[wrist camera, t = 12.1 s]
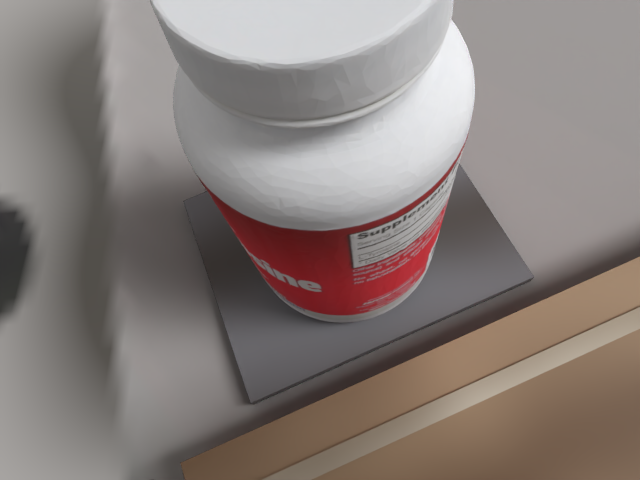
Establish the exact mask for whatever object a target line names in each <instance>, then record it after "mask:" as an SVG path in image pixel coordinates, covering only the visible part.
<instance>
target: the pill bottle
mask: <svg viewBox="0 0 640 480" xmlns="http://www.w3.org/2000/svg"><path fill="white" fill-rule="evenodd" d="M150 2H151V5H152V8H153V10H154V12H155V14H156V16H157V18H158V21H159V23H160V25H161V27H162V30H163V32H164V34H165V37H166V39H167V41H168V43H169V46H170V48H171V50H172V52H173V54H174V56H175V58H176V60H177V62H178V63H179V67H178V70H177V74H176V79H175V84H174V92H173V110H174V119H175V124H176V129H177V132H178V136H179V139H180V142H181V144H182V147H183V149H184V152H185V154H186V156H187V158H188V160H189V162H190V164H191V166H192V167H193V169H194V171H195V173H196V174H197V176H198V178H199V179H200V181H201V183H202V184H203V185H204V187H205V188H206V190H207V191H208V193H209V194H210V196H211V198H212V199H213V201H214V202H215V204H216V205H217V207H218V208H219V210H220V211H221V213H222V215H223V216H224V218H225V219H226V221H227V222H228V224H229V225H230V227H231V229H232V230H233V232H234V233H235V235H236V236H237V238H238V239H239V241H240V242H241V244H242V246H243V247H244V249H245V250H246V252H247V253H248V255H249V256H250V258H251V260H252V261H253V263H254V264H255V266H256V267H257V269H258V270H259V272H260V273H261V275H262V277H263V278H264V279H265V281H266V282H267V284H268V285H269V286H270V288H271V289H272V290H273V291H274V292H275V293H276V294H277V296H278V297H279V298H281V299H282V300H283V301H284V302H285V303H286V304H288V305H289V306H290V307H292V308H293V309H295V310H297V311H298V312H300V313H302V314H304V315H307V316H309V317H312V318H315V319H318V320H323V321H327V322H339V323H345V322H357V321H362V320H367V319H371V318H374V317H376V316H379V315H381V314H383V313H385V312H387V311H389V310H391V309H393V308H394V307H396V306H397V305H399V304H400V303H401V302H402V301H404V300H405V299H406V298H407V297H408V296H409V295H410V294H411V293H412V292H413V291H414V290H415V289H416V287H417V286H418V285H419V283H420V282H421V280H422V279H423V277H424V275H425V273H426V271H427V269H428V267H429V264H430V261H431V259H432V256H433V252H434V248H435V245H436V242H437V239H438V235H439V232H440V227H441V224H442V221H443V217H444V214H445V210H446V207H447V203H448V200H449V196H450V193H451V189H452V186H453V182H454V179H455V175H456V172H457V168H458V165H459V162H460V159H461V155H462V151H463V148H464V145H465V142H466V139H467V137H468V132H469V127H470V123H471V117H472V112H473V107H474V99H475V82H474V71H473V65H472V62H471V58H470V55H469V51H468V48H467V46H466V44H465V41H464V39H463V37H462V35H461V34H460V32H459V30H458V28H457V27H456V25H455V24H454V22H453V21H452V20H451V17H452V11H453V0H150Z"/></svg>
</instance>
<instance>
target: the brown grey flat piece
mask: <svg viewBox="0 0 640 480" xmlns="http://www.w3.org/2000/svg"><path fill="white" fill-rule="evenodd" d="M183 202H184V205H185V208H186V211H187V214H188V217H189V220H190V223H191V226H192V229H193V232H194V235H195V238H196V241H197V244H198V247H199V250H200V253H201V256H202V259H203V262H204V265H205V268H206V271H207V274H208V277H209V280H210V283H211V286H212V289H213V292H214V295H215V298H216V301H217V304H218V307H219V310H220V313H221V316H222V319H223V322H224V325H225V328H226V331H227V334H228V337H229V340H230V343H231V346H232V349H233V352H234V355H235V358H236V361H237V364H238V367H239V370H240V373H241V376H242V379H243V382H244V385H245V388H246V391H247V394H248V397H249V400H250V403H252V404H256V403H258V402H260V401H262V400H265V399H267V398H269V397H271V396H274V395H276V394H278V393H280V392H282V391H285V390H287V389H289V388H291V387H294V386H296V385H298V384H300V383H303V382H305V381H307V380H309V379H312V378H314V377H316V376H318V375H321V374H323V373H325V372H327V371H330V370H332V369H334V368H336V367H339V366H341V365H343V364H345V363H348V362H350V361H352V360H354V359H357V358H359V357H361V356H363V355H366V354H368V353H370V352H372V351H375V350H377V349H379V348H381V347H384V346H386V345H388V344H390V343H393V342H395V341H397V340H399V339H401V338H404V337H406V336H408V335H410V334H413V333H415V332H417V331H419V330H422V329H424V328H426V327H428V326H431V325H433V324H435V323H437V322H440V321H442V320H444V319H446V318H449V317H451V316H453V315H455V314H458V313H460V312H462V311H464V310H467V309H469V308H471V307H473V306H476V305H478V304H480V303H482V302H485V301H487V300H489V299H491V298H494V297H496V296H498V295H500V294H503V293H505V292H507V291H509V290H511V289H514V288H516V287H518V286H520V285H523V284H525V283H527V282H529V281H531V280H532V279H533V278H534V276H533V275H532V273H531V272H530V270H529V269H528V267H527V266H526V264H525V263H524V261H523V260H522V258H521V257H520V255H519V253H518V252H517V250H516V249H515V247H514V246H513V244H512V243H511V241H510V240H509V238H508V237H507V235H506V234H505V232H504V231H503V229H502V228H501V226H500V225H499V223H498V222H497V220H496V218H495V217H494V215H493V214H492V212H491V211H490V209H489V208H488V206H487V205H486V203H485V202H484V200H483V199H482V197H481V196H480V194H479V193H478V191H477V190H476V188H475V187H474V185H473V184H472V182H471V180H470V179H469V177H468V176H467V174H466V173H465V171H464V170H463V168H462V167H461V165H460V164H459V165H458V168H457V172H456V175H455V179H454V182H453V186H452V189H451V193H450V196H449V200H448V203H447V207H446V210H445V214H444V217H443V221H442V224H441V227H440V232H439V235H438V239H437V242H436V245H435V248H434V252H433V256H432V259H431V261H430V264H429V267H428V269H427V271H426V273H425V275H424V277H423V279H422V280H421V282H420V283H419V285H418V286H417V287H416V289H415V290H414V291H413V292H412V293H411V294H410V295H409V296H408V297H407V298H406V299H405V300H404V301H402V302H401V303H400V304H399V305H397V306H396V307H394V308H393V309H391V310H389V311H387V312H385V313H383V314H381V315H379V316H376V317H374V318H371V319H367V320H362V321H357V322H345V323H339V322H327V321H323V320H318V319H315V318H312V317H309V316H307V315H304V314H302V313H300V312H298V311H297V310H295V309H293V308H292V307H290V306H289V305H288V304H286V303H285V302H284V301H283V300H282V299H281V298H279V297H278V296H277V294H276V293H275V292H274V291H273V290H272V289H271V288H270V286H269V285H268V284H267V282H266V281H265V279H264V278H263V277H262V275H261V273H260V272H259V270H258V269H257V267H256V266H255V264H254V263H253V261H252V260H251V258H250V256H249V255H248V253H247V252H246V250H245V249H244V247H243V246H242V244H241V242H240V241H239V239H238V238H237V236H236V235H235V233H234V232H233V230H232V229H231V227H230V225H229V224H228V222H227V221H226V219H225V218H224V216H223V215H222V213H221V211H220V210H219V208H218V207H217V205H216V204H215V202H214V201H213V199H212V198H211V196H210V194H209V193H208V191H207V192H204V193H202V194H199V195H197V196H195V197H192V198H190V199H187V200H185V201H183ZM181 467H182V471H183V475H184V479H185V480H640V257H638V258H635V259H633V260H631V261H629V262H627V263H624V264H622V265H620V266H618V267H615V268H613V269H611V270H609V271H607V272H604V273H602V274H600V275H598V276H595V277H593V278H591V279H589V280H586V281H584V282H582V283H580V284H578V285H575V286H573V287H571V288H569V289H566V290H564V291H562V292H560V293H558V294H555V295H553V296H551V297H549V298H546V299H544V300H542V301H540V302H537V303H535V304H533V305H531V306H529V307H526V308H524V309H522V310H520V311H517V312H515V313H513V314H511V315H509V316H506V317H504V318H502V319H500V320H497V321H495V322H493V323H491V324H488V325H486V326H484V327H482V328H480V329H477V330H475V331H473V332H471V333H468V334H466V335H464V336H462V337H460V338H457V339H455V340H453V341H451V342H448V343H446V344H444V345H442V346H440V347H437V348H435V349H433V350H431V351H428V352H426V353H424V354H422V355H419V356H417V357H415V358H413V359H411V360H408V361H406V362H404V363H402V364H399V365H397V366H395V367H393V368H391V369H388V370H386V371H384V372H382V373H379V374H377V375H375V376H373V377H370V378H368V379H366V380H364V381H362V382H359V383H357V384H355V385H353V386H350V387H348V388H346V389H344V390H342V391H339V392H337V393H335V394H333V395H330V396H328V397H326V398H324V399H321V400H319V401H317V402H315V403H313V404H310V405H308V406H306V407H304V408H301V409H299V410H297V411H295V412H293V413H290V414H288V415H286V416H284V417H281V418H279V419H277V420H275V421H272V422H270V423H268V424H266V425H264V426H261V427H259V428H257V429H255V430H252V431H250V432H248V433H246V434H244V435H241V436H239V437H237V438H235V439H232V440H230V441H228V442H226V443H224V444H221V445H219V446H217V447H215V448H212V449H210V450H208V451H206V452H203V453H201V454H199V455H197V456H195V457H192V458H190V459H188V460H186V461H183V462H181Z"/></svg>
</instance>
